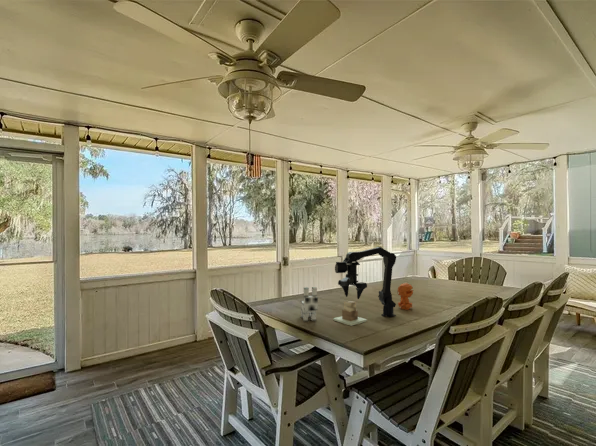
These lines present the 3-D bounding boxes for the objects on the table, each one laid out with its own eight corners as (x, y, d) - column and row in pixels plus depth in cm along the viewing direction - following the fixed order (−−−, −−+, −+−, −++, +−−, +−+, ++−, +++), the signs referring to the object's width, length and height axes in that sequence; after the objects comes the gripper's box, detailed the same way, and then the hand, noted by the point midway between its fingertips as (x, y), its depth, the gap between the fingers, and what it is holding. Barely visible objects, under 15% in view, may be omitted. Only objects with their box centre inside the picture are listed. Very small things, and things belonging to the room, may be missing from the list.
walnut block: (349, 316, 191) (349, 308, 191) (357, 319, 186) (357, 310, 186) (342, 318, 187) (342, 310, 187) (350, 321, 182) (350, 312, 182)
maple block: (349, 308, 190) (349, 300, 190) (355, 310, 186) (355, 302, 186) (343, 310, 187) (343, 301, 187) (350, 311, 183) (350, 303, 183)
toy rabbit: (311, 315, 199) (311, 283, 199) (318, 323, 181) (317, 288, 182) (300, 315, 197) (300, 283, 198) (305, 323, 180) (305, 289, 181)
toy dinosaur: (416, 310, 209) (416, 283, 209) (400, 310, 209) (399, 283, 209) (410, 306, 220) (410, 280, 220) (395, 306, 220) (395, 280, 220)
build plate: (349, 316, 196) (349, 314, 196) (366, 321, 185) (366, 319, 185) (333, 320, 187) (333, 318, 187) (351, 325, 176) (351, 323, 176)
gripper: (331, 272, 195) (332, 297, 195) (355, 275, 181) (355, 302, 180) (343, 270, 202) (344, 294, 202) (367, 273, 188) (367, 299, 187)
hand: (352, 297), depth 193 cm, fingers open, 9 cm apart
